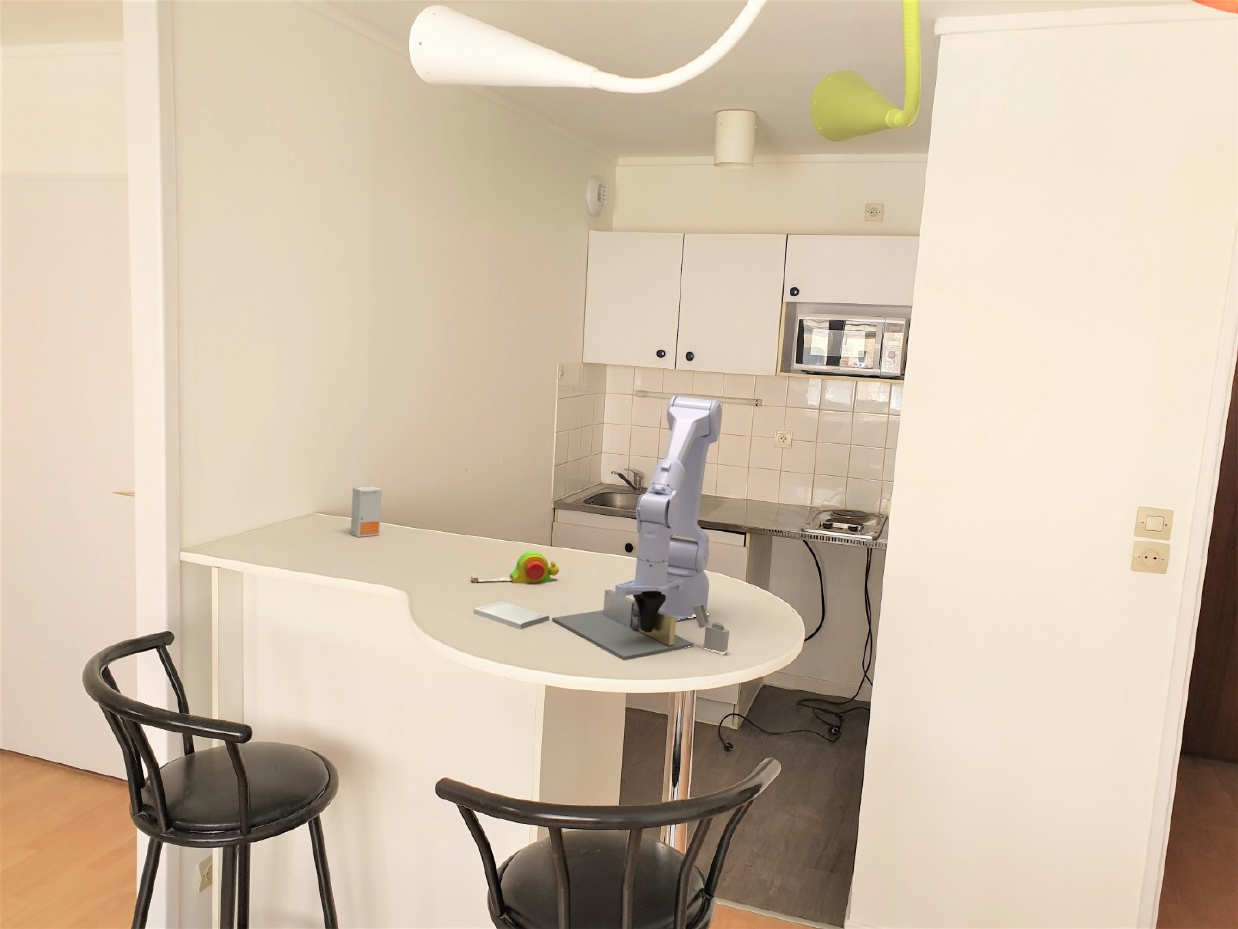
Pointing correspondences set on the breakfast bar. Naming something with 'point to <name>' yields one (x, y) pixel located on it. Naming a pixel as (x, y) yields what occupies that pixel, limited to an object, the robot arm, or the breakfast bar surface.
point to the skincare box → (366, 511)
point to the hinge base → (617, 629)
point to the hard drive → (511, 614)
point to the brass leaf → (660, 626)
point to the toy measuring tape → (528, 570)
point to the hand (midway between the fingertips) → (646, 630)
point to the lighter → (711, 630)
